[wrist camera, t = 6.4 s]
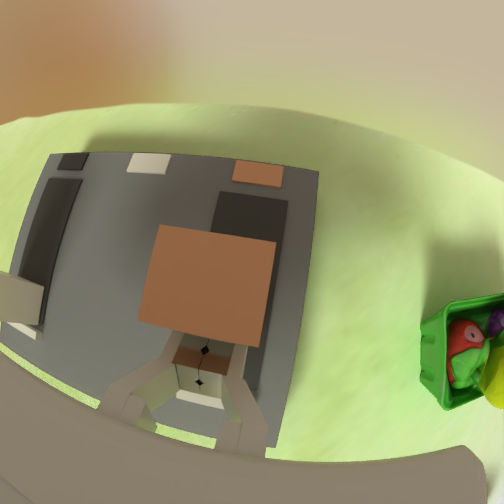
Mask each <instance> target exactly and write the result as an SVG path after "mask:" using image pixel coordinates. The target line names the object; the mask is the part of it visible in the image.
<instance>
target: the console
mask: <svg viewBox="0 0 504 504" xmlns="http://www.w3.org/2000/svg"><path fill="white" fill-rule="evenodd" d="M318 176H319V171H313V170H308V169H302V168H296V167H290V166H284V165H277V164H270V163H263V162H256V161H248V160H239V159H231V158H221V157H210V156H199V155H185V154H169V153H146V152H82V153H60V154H50V156H49V158H48V160H47V162H46V164H45V166H44V168H43V171H42V173H41V175H40V177H39V180H38V182H37V185H36V187H35V190H34V192H33V195H32V197H31V200H30V202H29V205H28V208H27V211H26V214H25V217H24V220H23V223H22V226H21V229H20V232H19V236H18V239H17V243H16V246H15V250H14V254H13V258H12V262H11V266H10V271H9V274H12V275H16V276H19V277H21V278H24V279H26V280H29V281H31V282H33V283H36V284H38V285H41V286H43V287H44V291H43V297H42V302H41V308H40V315H39V322H38V325H30V324H20V323H11V322H3V321H1V330H0V342H1V343H2V344H4V345H5V346H6V347H8V348H9V349H10V350H12V351H13V352H15V353H16V354H18V355H19V356H21V357H22V358H24V359H25V360H27V361H28V362H30V363H31V364H33V365H34V366H36V367H38V368H39V369H41V370H42V371H44V372H46V373H48V374H49V375H51V376H53V377H54V378H56V379H58V380H60V381H62V382H63V383H65V384H67V385H69V386H71V387H73V388H75V389H77V390H79V391H81V392H83V393H85V394H87V395H89V396H91V397H93V398H95V399H98V400H100V401H101V400H102V398H103V396H104V394H105V393H106V391H107V389H108V387H109V385H110V384H111V383H113V382H115V381H117V380H119V379H120V378H122V377H124V376H126V375H127V374H129V373H131V372H133V371H134V370H136V369H138V368H139V367H141V366H143V365H145V364H146V363H148V362H150V361H151V360H153V359H159V357H160V355H161V352H162V350H163V348H164V346H165V344H166V342H167V340H168V338H169V336H170V334H171V332H172V331H173V330H171V329H168V328H164V327H160V326H156V325H152V324H148V323H145V322H141V321H138V315H139V310H140V305H141V300H142V295H143V290H144V286H145V281H146V277H147V272H148V268H149V264H150V260H151V256H152V252H153V248H154V244H155V240H156V236H157V233H158V229H159V225H167V226H174V227H180V228H187V229H194V230H200V231H207V232H213V233H220V234H226V235H233V236H239V237H245V238H252V239H258V240H264V241H270V242H276V248H275V254H274V261H273V267H272V273H271V279H270V285H269V291H268V297H267V303H266V309H265V315H264V320H263V326H262V332H261V337H260V343H259V347H253V346H248V350H247V356H246V362H245V368H244V374H243V379H244V380H245V381H246V383H247V385H248V387H249V389H250V391H251V393H252V395H253V397H254V399H255V401H256V403H257V405H258V407H259V409H260V411H261V413H262V415H263V416H264V418H265V420H266V422H267V424H268V426H269V430H268V437H267V444H266V447H272V448H276V444H277V440H278V436H279V431H280V427H281V423H282V418H283V414H284V409H285V405H286V400H287V395H288V391H289V386H290V381H291V376H292V371H293V365H294V360H295V355H296V349H297V343H298V338H299V332H300V326H301V319H302V313H303V307H304V300H305V293H306V286H307V279H308V272H309V264H310V256H311V248H312V239H313V230H314V221H315V211H316V200H317V189H318ZM151 415H152V417H153V419H154V421H155V422H157V423H160V424H163V425H166V426H170V427H173V428H177V429H180V430H184V431H187V432H191V433H195V434H199V435H203V436H208V437H212V438H217V437H218V433H219V430H220V426H221V422H223V421H225V420H227V421H229V420H228V417H227V415H226V412H225V410H224V407H223V404H222V402H221V399H219V398H215V397H211V396H207V395H203V394H201V392H200V394H199V393H194V392H190V391H186V390H181V389H180V390H179V391H178V392H177V393H176V394H175V395H173V396H172V397H171V398H169V399H168V400H167V401H166V402H164V403H163V404H162V405H161V406H159V407H158V408H157V409H155V410H154V411H153V412H152V413H151Z"/></svg>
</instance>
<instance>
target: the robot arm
mask: <svg viewBox="0 0 504 504" xmlns="http://www.w3.org/2000/svg"><path fill="white" fill-rule="evenodd" d="M247 350H248V346H247V345H241V344H236V343H231V342H225V341H220V340H216V339H211V338H206V337H201V336H197V335H192V334H188V333H184V332H180V331H176V330H173V331H172V332H171V334H170V336H169V338H168V340H167V342H166V344H165V346H164V348H163V350H162V352H161V355H160V357H159V359H153V360H151V361H150V362H148V363H146V364H145V365H143V366H141V367H139V368H138V369H136V370H134V371H133V372H131V373H129V374H127V375H126V376H124V377H122V378H120V379H119V380H117V381H115V382H113V383H111V384H110V385H109V387H108V389H107V391H106V393H105V394H104V396H103V398H102V400H101V402H100V404H99V406H98V408H97V409H94V408H92V407H90V406H88V405H86V404H84V403H82V402H80V401H78V400H76V399H74V398H72V397H70V396H68V395H67V394H65V393H63V392H61V391H59V390H58V389H56V388H54V387H53V386H51V385H49V384H48V383H46V382H44V381H43V380H41V379H40V378H38V377H36V376H35V375H33V374H32V373H30V372H29V371H27V370H26V369H24V368H23V367H21V366H20V365H19V364H17V363H16V362H14V361H13V360H12V359H10V358H9V357H8V356H6V355H5V354H4V353H2V352H1V351H0V504H487V485H486V474H485V469H484V465H483V463H482V462H481V460H480V459H479V458H478V457H477V456H476V455H475V454H474V453H473V452H472V451H471V450H470V449H469V448H468V447H466V446H464V445H459V446H454V447H451V448H447V449H442V450H438V451H433V452H428V453H423V454H418V455H412V456H405V457H398V458H390V459H381V460H369V461H352V462H310V461H292V460H280V459H270V458H265V451H266V444H267V437H268V430H269V426H268V424H267V422H266V420H265V418H264V416H263V415H262V413H261V411H260V409H259V407H258V405H257V403H256V401H255V399H254V397H253V395H252V393H251V391H250V389H249V387H248V385H247V383H246V381H245V380H244V379H243V374H244V368H245V362H246V356H247ZM180 389H181V390H186V391H190V392H194V393H199V394H200V392H201V394H203V395H207V396H211V397H215V398H219V399H221V402H222V404H223V407H224V410H225V412H226V415H227V417H228V420H229V421H227V420H225V421H223V422H221V426H220V430H219V433H218V437H217V441H216V444H215V448H214V449H211V448H206V447H202V446H198V445H194V444H190V443H186V442H183V441H179V440H176V439H172V438H169V437H166V436H163V435H159V434H156V433H155V431H156V428H157V425H156V423H155V421H154V419H153V417H152V415H151V413H152V412H153V411H154V410H155V409H157V408H158V407H159V406H161V405H162V404H163V403H164V402H166V401H167V400H168V399H169V398H171V397H172V396H173V395H175V394H176V393H177V392H178V391H179V390H180Z"/></svg>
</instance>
